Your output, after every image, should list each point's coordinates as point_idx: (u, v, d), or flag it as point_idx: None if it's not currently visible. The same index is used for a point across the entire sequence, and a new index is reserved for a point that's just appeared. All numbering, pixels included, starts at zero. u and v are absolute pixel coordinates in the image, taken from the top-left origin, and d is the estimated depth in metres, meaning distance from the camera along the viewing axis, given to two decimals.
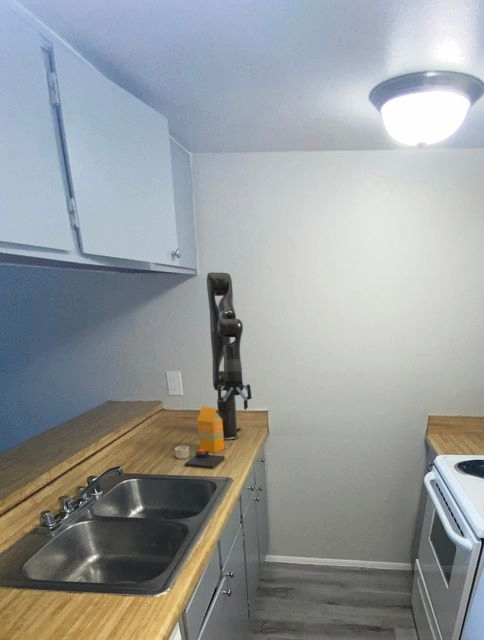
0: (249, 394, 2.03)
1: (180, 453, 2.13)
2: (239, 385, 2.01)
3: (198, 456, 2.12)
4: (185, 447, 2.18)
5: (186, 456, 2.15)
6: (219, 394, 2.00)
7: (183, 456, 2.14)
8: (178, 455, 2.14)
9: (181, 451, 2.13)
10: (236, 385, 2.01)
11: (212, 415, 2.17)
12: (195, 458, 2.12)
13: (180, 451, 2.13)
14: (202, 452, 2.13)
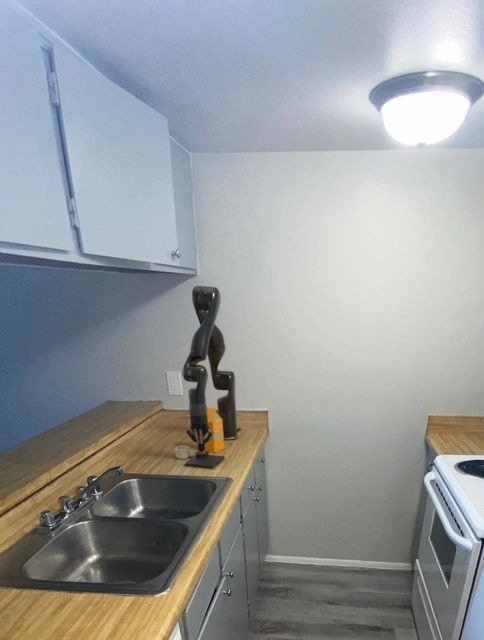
0: (206, 439, 2.09)
1: (180, 453, 2.13)
2: (204, 426, 2.07)
3: (198, 456, 2.12)
4: (185, 447, 2.18)
5: (186, 456, 2.15)
6: (191, 437, 2.11)
7: (183, 456, 2.14)
8: (178, 455, 2.14)
9: (181, 451, 2.13)
10: (200, 427, 2.07)
11: (212, 415, 2.17)
12: (195, 458, 2.12)
13: (180, 451, 2.13)
14: (202, 453, 2.13)
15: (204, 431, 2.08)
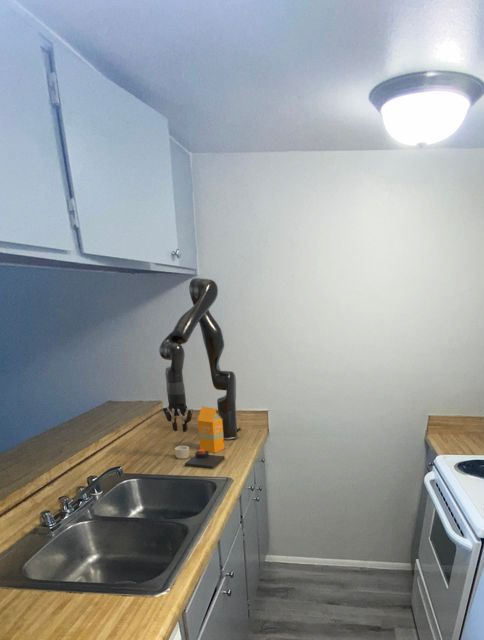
0: (187, 418, 2.07)
1: (180, 453, 2.13)
2: (181, 406, 2.05)
3: (198, 456, 2.12)
4: (185, 447, 2.18)
5: (186, 456, 2.15)
6: (166, 416, 2.09)
7: (183, 456, 2.14)
8: (178, 455, 2.14)
9: (181, 451, 2.13)
10: (178, 406, 2.05)
11: (212, 415, 2.17)
12: (195, 458, 2.12)
13: (180, 451, 2.13)
14: (202, 452, 2.13)
15: (182, 411, 2.06)
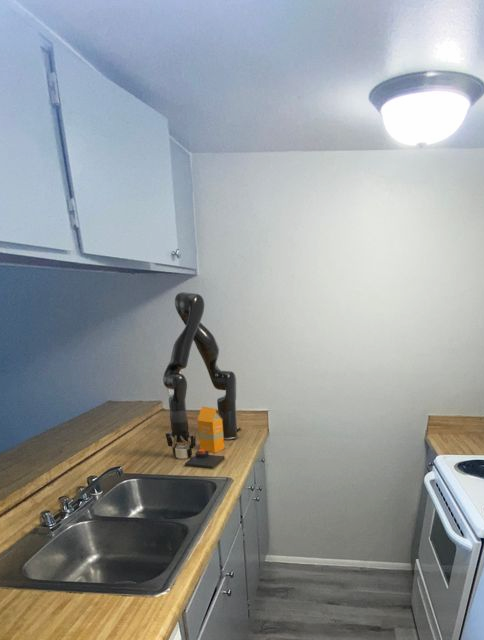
0: (191, 444, 2.12)
1: (180, 453, 2.13)
2: (183, 433, 2.11)
3: (198, 456, 2.12)
4: (185, 447, 2.18)
5: (186, 456, 2.15)
6: (168, 441, 2.14)
7: (183, 456, 2.14)
8: (178, 455, 2.14)
9: (181, 451, 2.13)
10: (181, 433, 2.11)
11: (212, 415, 2.17)
12: (195, 458, 2.12)
13: (180, 451, 2.13)
14: (202, 452, 2.13)
15: (185, 437, 2.11)
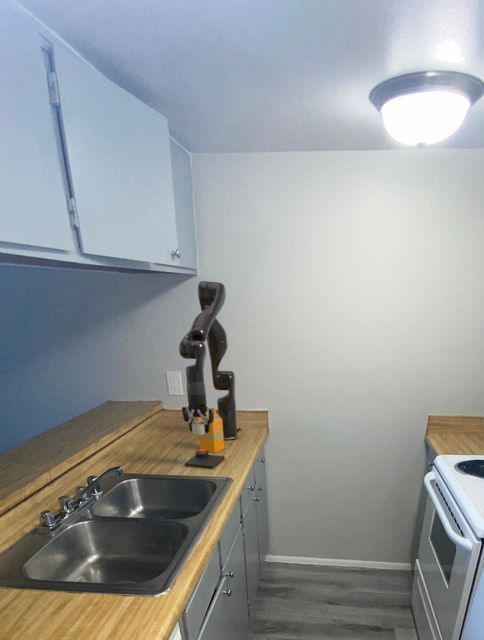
0: (209, 419, 1.97)
1: (197, 429, 1.99)
2: (201, 407, 1.96)
3: (198, 456, 2.12)
4: (202, 423, 2.03)
5: (203, 432, 2.01)
6: (184, 416, 2.00)
7: (200, 432, 2.00)
8: (195, 431, 2.00)
9: (198, 426, 1.99)
10: (198, 407, 1.97)
11: None
12: (195, 458, 2.12)
13: (197, 426, 1.99)
14: (202, 452, 2.13)
15: (202, 412, 1.97)
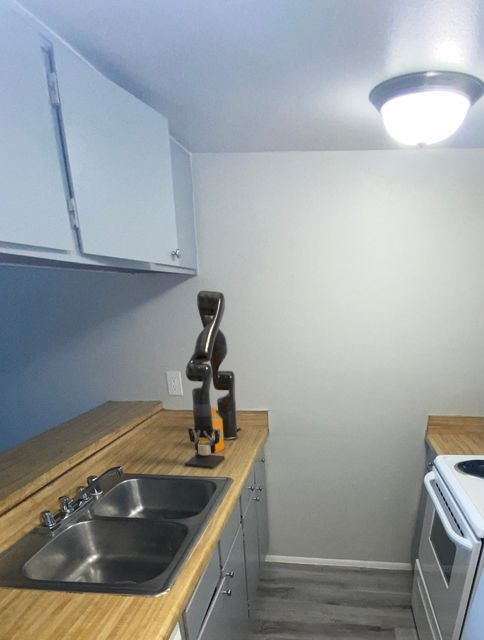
0: (215, 439, 2.00)
1: (203, 449, 2.01)
2: (207, 428, 1.99)
3: (198, 456, 2.12)
4: (208, 443, 2.06)
5: (209, 452, 2.03)
6: (190, 436, 2.02)
7: (206, 452, 2.02)
8: (201, 451, 2.02)
9: (204, 447, 2.01)
10: (204, 428, 1.99)
11: (212, 415, 2.17)
12: (195, 458, 2.12)
13: (203, 447, 2.01)
14: None
15: (208, 432, 1.99)
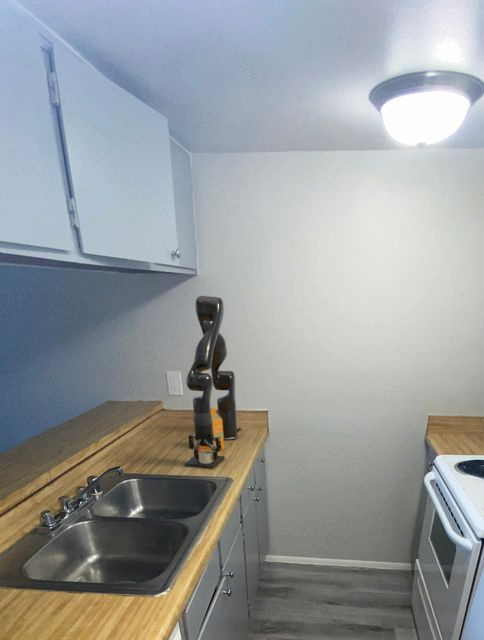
0: (217, 447, 2.01)
1: (204, 458, 2.03)
2: (208, 437, 2.01)
3: None
4: (209, 451, 2.08)
5: (210, 461, 2.05)
6: (189, 443, 2.04)
7: (207, 461, 2.04)
8: (202, 460, 2.04)
9: (205, 456, 2.03)
10: (205, 437, 2.01)
11: (212, 415, 2.17)
12: (195, 458, 2.12)
13: (204, 456, 2.03)
14: None
15: (209, 441, 2.01)
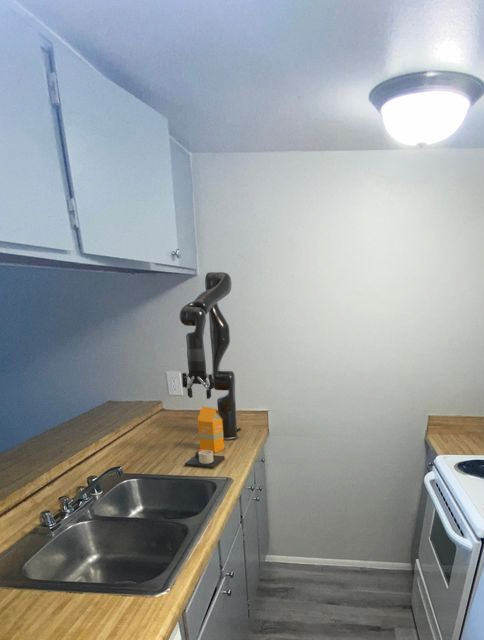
0: (210, 384, 2.03)
1: (204, 458, 2.03)
2: (201, 374, 2.02)
3: (198, 456, 2.12)
4: (209, 451, 2.08)
5: (210, 461, 2.05)
6: (183, 381, 2.06)
7: (207, 461, 2.04)
8: (202, 460, 2.04)
9: (205, 456, 2.03)
10: (198, 374, 2.02)
11: (212, 415, 2.17)
12: (195, 458, 2.12)
13: (204, 456, 2.03)
14: None
15: (202, 378, 2.03)
